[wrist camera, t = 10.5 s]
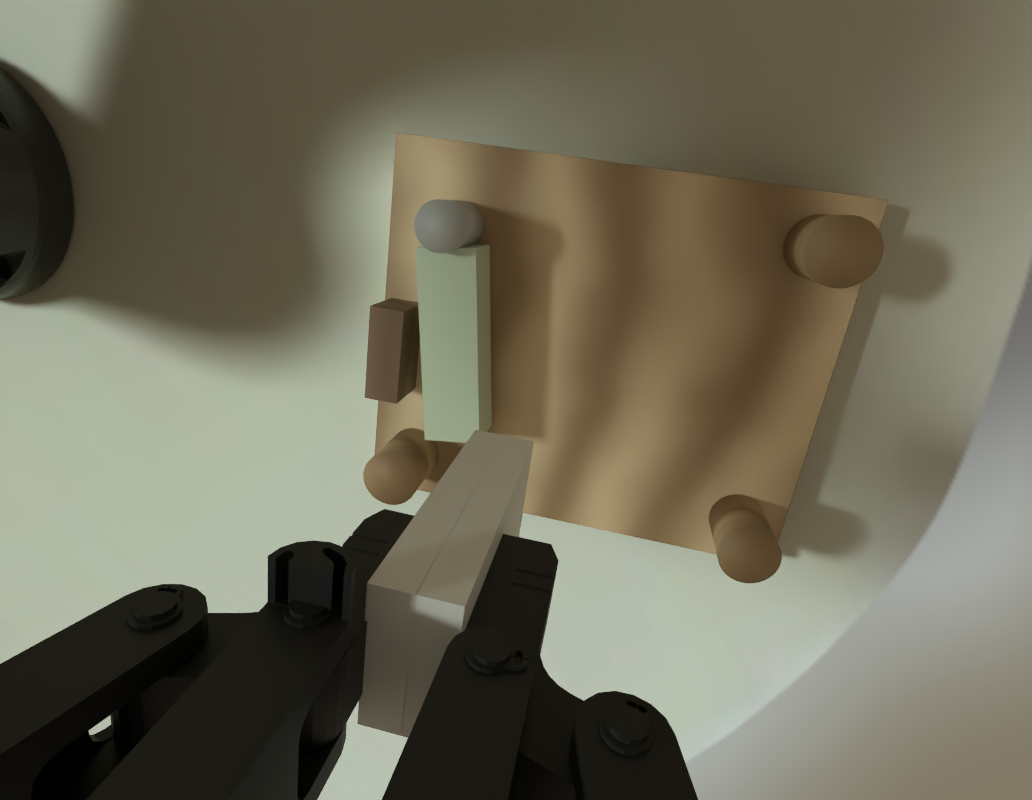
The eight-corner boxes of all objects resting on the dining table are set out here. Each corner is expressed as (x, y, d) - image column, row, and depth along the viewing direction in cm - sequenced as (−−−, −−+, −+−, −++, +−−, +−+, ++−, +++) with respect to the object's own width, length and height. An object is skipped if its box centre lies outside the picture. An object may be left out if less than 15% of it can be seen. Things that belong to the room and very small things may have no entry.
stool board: (385, 467, 39) (344, 510, 34) (409, 137, 33) (363, 122, 27) (762, 547, 36) (787, 609, 31) (872, 200, 30) (928, 198, 24)
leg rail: (433, 200, 31) (406, 199, 28) (489, 200, 31) (470, 199, 27) (441, 420, 35) (419, 446, 31) (492, 423, 35) (475, 450, 31)
